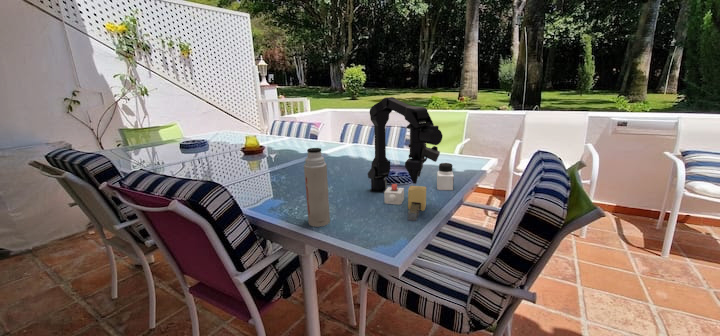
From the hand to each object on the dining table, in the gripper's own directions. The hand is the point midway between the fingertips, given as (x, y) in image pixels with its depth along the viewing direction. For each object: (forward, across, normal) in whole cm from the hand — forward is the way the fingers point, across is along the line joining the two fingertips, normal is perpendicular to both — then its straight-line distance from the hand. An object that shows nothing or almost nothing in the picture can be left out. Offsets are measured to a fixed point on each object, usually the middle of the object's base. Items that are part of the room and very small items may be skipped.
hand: (416, 180), depth 124 cm
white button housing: (+12, +5, +10) cm, 16 cm away
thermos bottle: (+12, -22, +33) cm, 41 cm away
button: (+6, +5, +10) cm, 13 cm away
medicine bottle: (+12, +28, -9) cm, 32 cm away
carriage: (+12, 0, 0) cm, 12 cm away
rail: (+12, -4, 0) cm, 13 cm away
